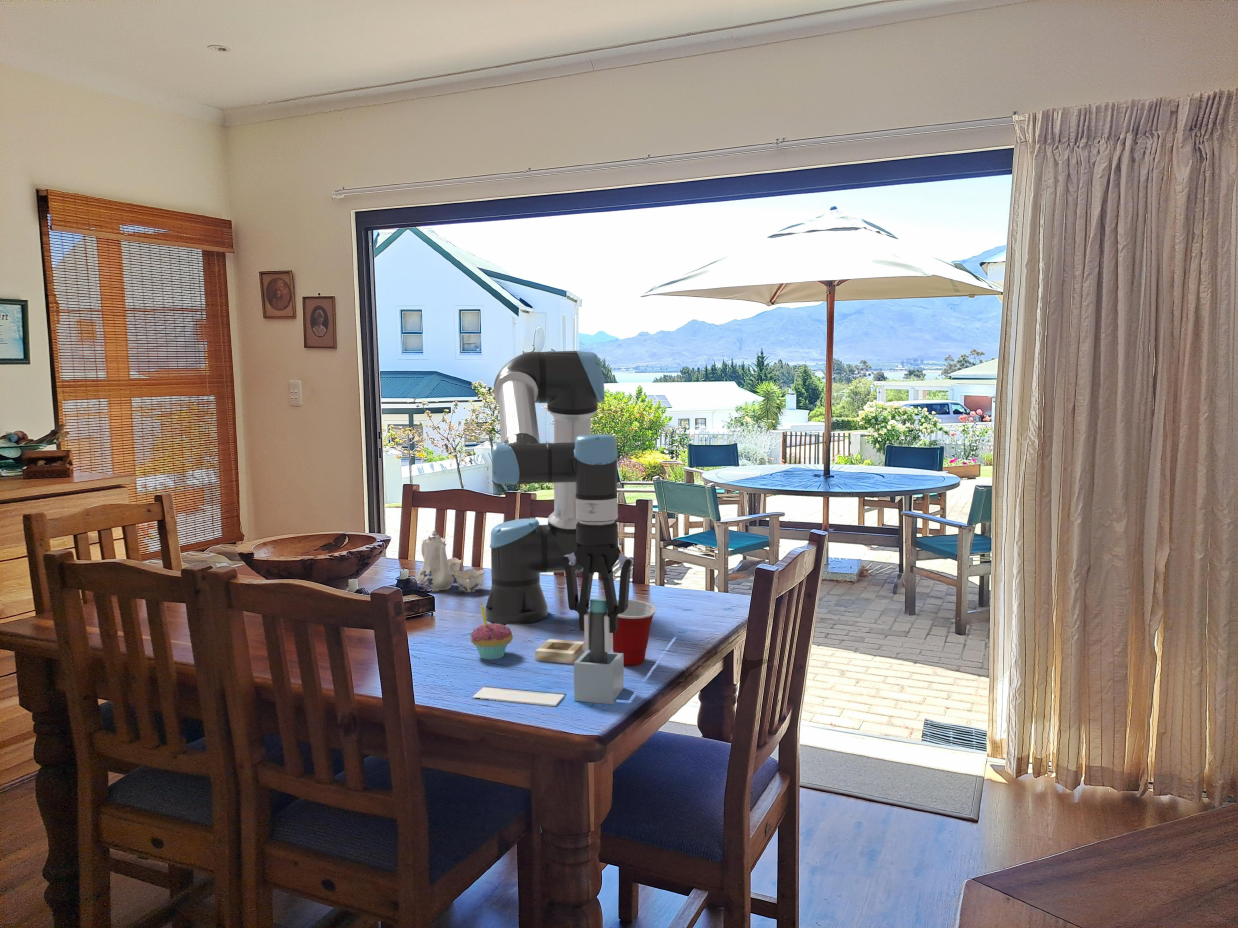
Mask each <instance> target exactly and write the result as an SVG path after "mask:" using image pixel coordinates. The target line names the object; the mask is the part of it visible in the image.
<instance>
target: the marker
mask: <svg viewBox="0 0 1238 928" xmlns="http://www.w3.org/2000/svg"><path fill="white" fill-rule="evenodd" d="M589 607H590V608H589V611H590V650H589V651H590V663H600V664H607V652H605V633H604V616H605V615H606V614H608V609H607V603H606V598H590V601H589Z"/></svg>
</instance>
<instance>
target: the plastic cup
mask: <svg viewBox="0 0 1238 928" xmlns="http://www.w3.org/2000/svg"><path fill="white" fill-rule="evenodd" d="M618 601H619V599H617V604H618ZM657 610H658V609H657V607H656V605H653V604H652V603H650V602H647V601H643V600H637V599H628V608H627V610H625V611H624V612H623V613H620V614H618V629H617V631H616V632H615V633H613V648H612V649H611V650H612V652H613V653H623V664H624V667H636V666H640V665H642V664H643V663H644V662H645V659H646V654H647V649H648V643H649V637H650V631H651V624H652V621H653V619H654V616H655V614H656V611H657Z"/></svg>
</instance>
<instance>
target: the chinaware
mask: <svg viewBox="0 0 1238 928" xmlns="http://www.w3.org/2000/svg"><path fill="white" fill-rule="evenodd" d="M446 541H447V539H446V538H443V537H441V536H440V535H439V534H438V533H437V532H436V530H432V532H431V533H430V535H429V536H428V537H427V538H425V539H423V540H422V544H421V555H422V557H423V563H422V565H421V567H420V569H419V571H418V572H417V575H416V582H417V581H418V582H419V583H420V584H423V585H426V586H428V587H430V588H431V589H432V590H433V591H432V592H440V591H439V590H443V591H447V590H450V589H451V588H452V584H453V583H454V581H455V580H456V583H457V584H458V586H459V588H461V589H463V592H464V593H473V592H476V591H477V590H476V589H477V588H478V587H479V586H480V585H481V583H482V581H483V577H484V575H485V570H484V569H478V570H476V569H474V568H467V569H464V570H463V571H462V570H460V566H461V563H463V561H464V560H463V559H460V560H459V558H457V557H450V558H448V557H447V555H448V554H447V551H446V547H447V543H446Z"/></svg>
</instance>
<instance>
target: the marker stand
mask: <svg viewBox="0 0 1238 928" xmlns="http://www.w3.org/2000/svg"><path fill="white" fill-rule="evenodd" d="M585 651H586V650H585V642H584V641H579V640H578V641H577V640H567V639H566V640H563V639H554V638H553V639H551V638H549V639H547V640H546V641H545V642H543V643H542V644H541V645H539V647H538V648H537V649H535V651H534V655H535V656H534V659H535V660H534V661H539V662H548V663H558V664H560V663H561V664H562V663H563V664H573V665H574V662H575V661H576V660H577V659H578V658H579V657H580V656H581V655H582V654H583V653H584V652H585Z"/></svg>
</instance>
